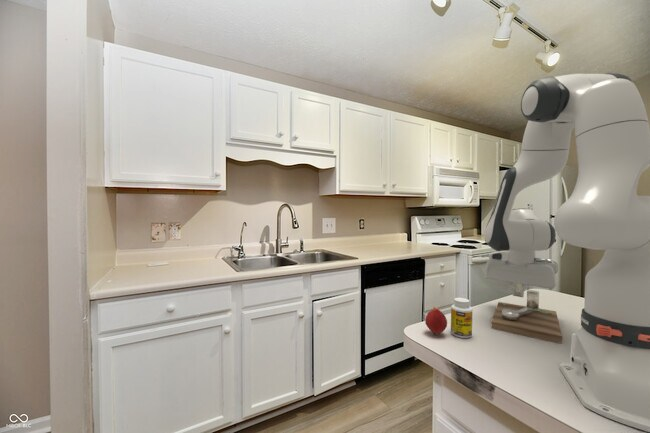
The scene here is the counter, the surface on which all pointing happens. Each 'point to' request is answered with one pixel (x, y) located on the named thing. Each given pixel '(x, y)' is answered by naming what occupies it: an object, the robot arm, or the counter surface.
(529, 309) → the silver measuring spoon
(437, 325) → the onion
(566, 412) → the counter surface
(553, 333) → the board
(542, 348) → the counter surface
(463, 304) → the supplement bottle
